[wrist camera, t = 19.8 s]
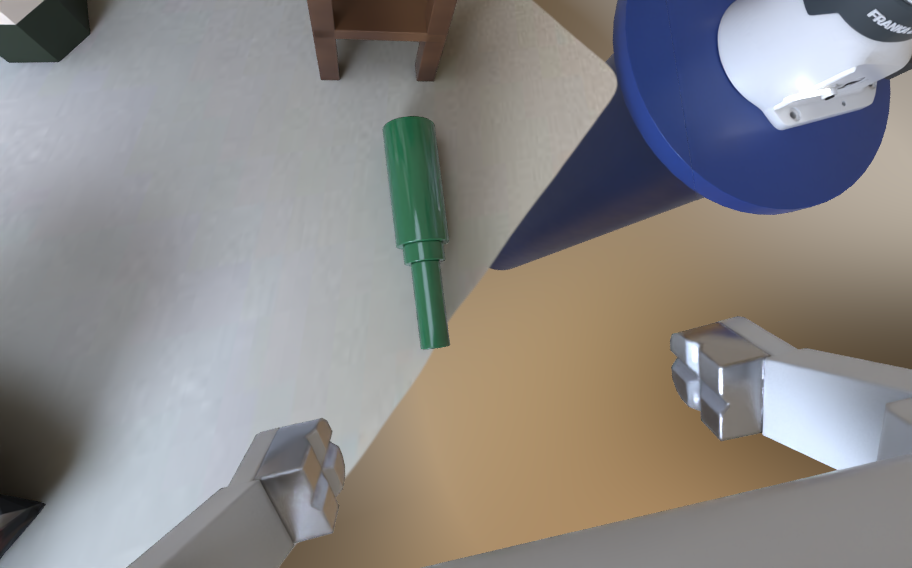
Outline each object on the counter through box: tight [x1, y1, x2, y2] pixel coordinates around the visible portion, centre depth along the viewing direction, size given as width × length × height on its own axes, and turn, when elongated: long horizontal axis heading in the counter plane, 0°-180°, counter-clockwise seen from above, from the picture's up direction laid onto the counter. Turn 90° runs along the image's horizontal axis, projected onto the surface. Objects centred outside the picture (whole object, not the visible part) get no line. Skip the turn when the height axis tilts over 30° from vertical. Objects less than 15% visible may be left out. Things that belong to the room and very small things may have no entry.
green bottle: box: [383, 116, 450, 349], centre depth 35 cm, size 18×4×4 cm
